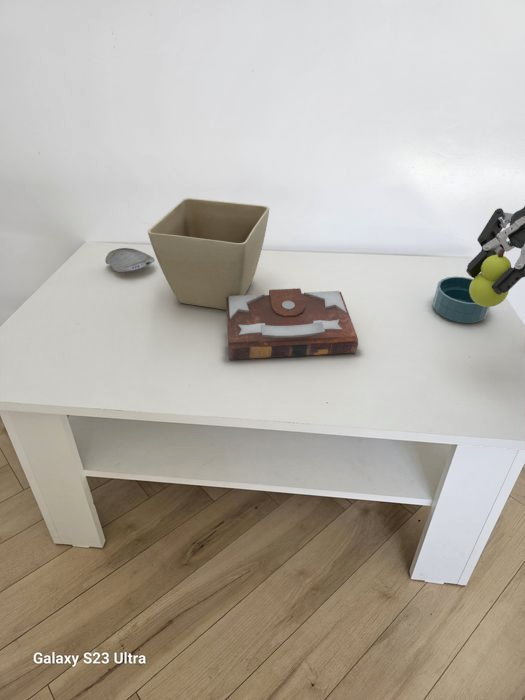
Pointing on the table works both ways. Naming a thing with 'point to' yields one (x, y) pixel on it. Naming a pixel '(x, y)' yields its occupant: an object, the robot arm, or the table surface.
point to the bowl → (457, 301)
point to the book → (289, 324)
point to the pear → (489, 280)
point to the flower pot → (209, 249)
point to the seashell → (128, 259)
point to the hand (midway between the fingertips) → (482, 282)
